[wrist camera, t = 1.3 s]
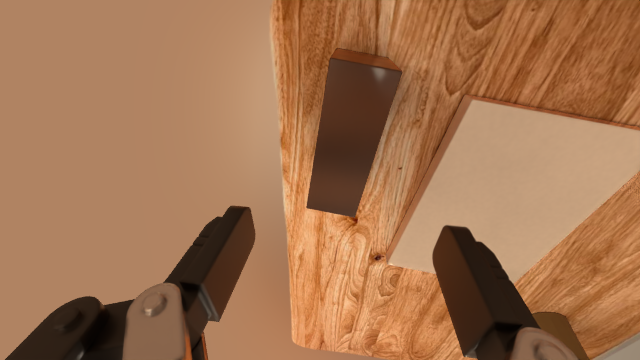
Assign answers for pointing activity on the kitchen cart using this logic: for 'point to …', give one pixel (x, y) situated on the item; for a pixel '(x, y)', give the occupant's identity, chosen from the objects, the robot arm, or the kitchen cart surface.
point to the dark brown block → (350, 128)
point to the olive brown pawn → (561, 331)
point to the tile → (515, 181)
